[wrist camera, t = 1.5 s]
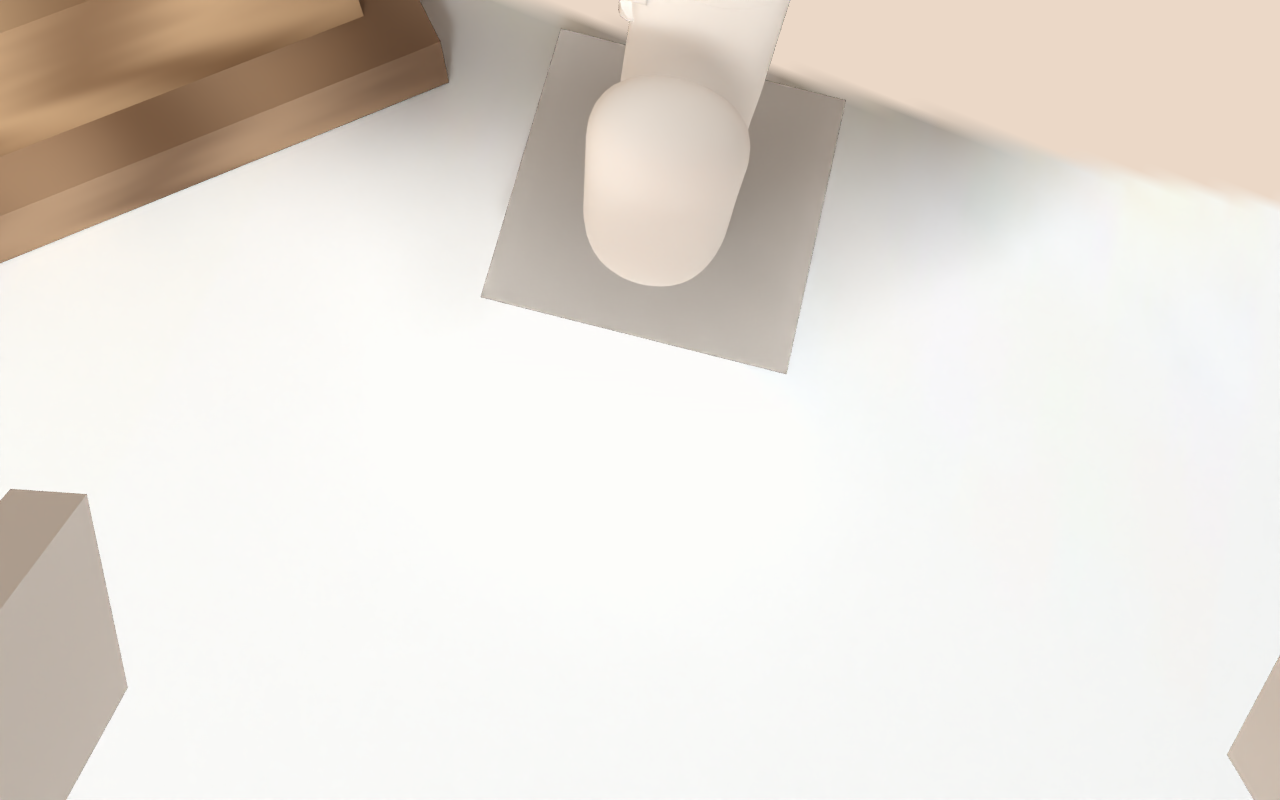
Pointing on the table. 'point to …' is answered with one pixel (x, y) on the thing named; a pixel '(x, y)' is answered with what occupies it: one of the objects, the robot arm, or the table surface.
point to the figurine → (672, 184)
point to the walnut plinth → (182, 95)
